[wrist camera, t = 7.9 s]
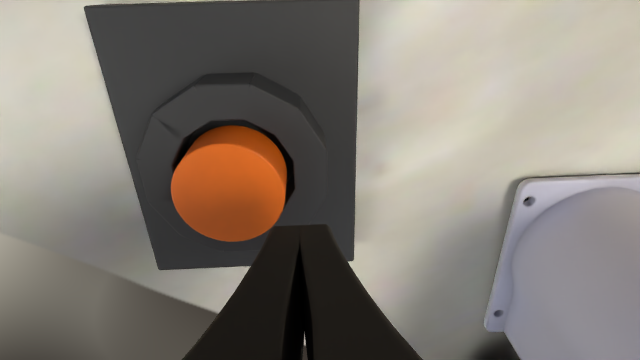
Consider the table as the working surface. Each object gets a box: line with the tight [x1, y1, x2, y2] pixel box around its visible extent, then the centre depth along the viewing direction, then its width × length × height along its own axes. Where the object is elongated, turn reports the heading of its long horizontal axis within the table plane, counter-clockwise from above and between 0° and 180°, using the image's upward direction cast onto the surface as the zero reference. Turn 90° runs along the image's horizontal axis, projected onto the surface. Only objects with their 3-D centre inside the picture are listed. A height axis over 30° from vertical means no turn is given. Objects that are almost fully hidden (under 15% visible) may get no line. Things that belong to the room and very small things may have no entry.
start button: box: [171, 125, 287, 242], centre depth 13 cm, size 4×4×2 cm
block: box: [84, 0, 359, 270], centre depth 14 cm, size 11×9×3 cm
